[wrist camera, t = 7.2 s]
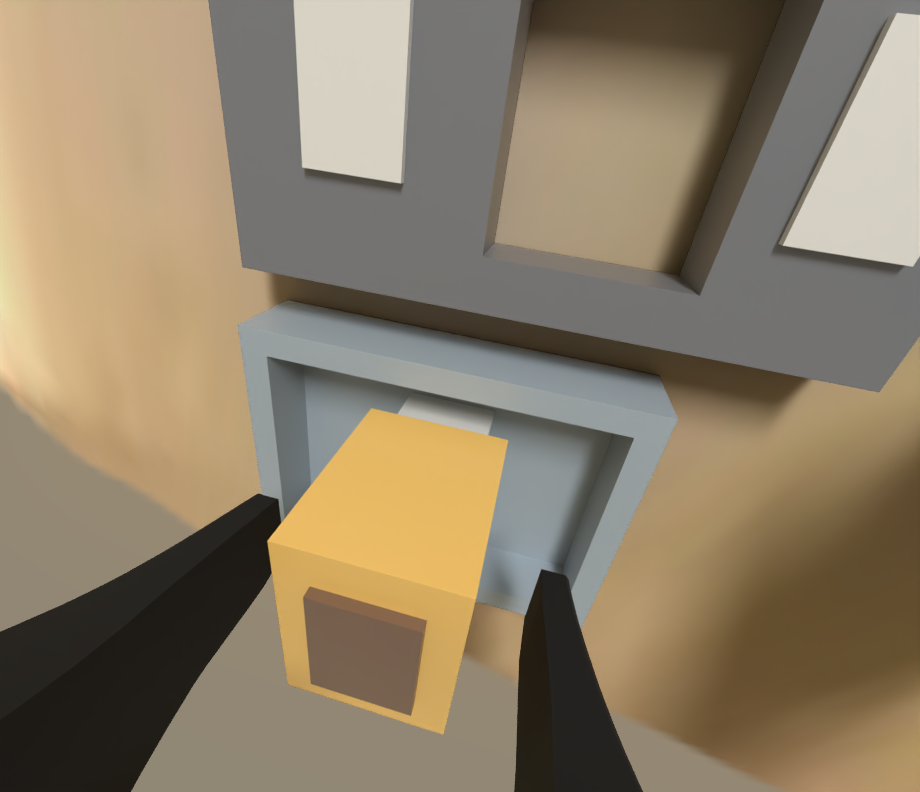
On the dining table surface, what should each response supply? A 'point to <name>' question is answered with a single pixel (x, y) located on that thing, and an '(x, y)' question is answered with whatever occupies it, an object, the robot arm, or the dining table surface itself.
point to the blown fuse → (390, 560)
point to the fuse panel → (564, 277)
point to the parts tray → (515, 419)
